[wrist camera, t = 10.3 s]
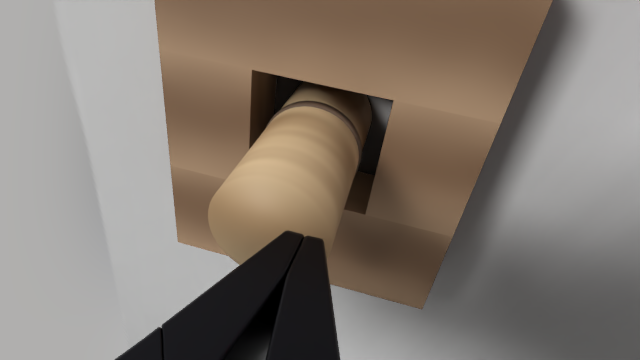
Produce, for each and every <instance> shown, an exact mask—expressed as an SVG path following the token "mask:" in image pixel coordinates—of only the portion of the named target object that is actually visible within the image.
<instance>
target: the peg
mask: <svg viewBox="0 0 640 360" xmlns="http://www.w3.org/2000/svg"><path fill="white" fill-rule="evenodd" d="M371 120H372V112H371V106H370V103H369V101H368V98H367V96H366V95H365V94H362V93H357V92H352V91H348V90H343V89H339V88H334V87H329V86H325V85H320V84H316V83H311V82H306V81H304V82H302V83H301V84H300V85H299V86H298V88H297V89H296V90H295V91H294V93H293V94H292V95H291V97H290V98H289V99H288V100H287V102H286V103H285V104H284V106H283V107H282V108H281V109H280V110H279V111H278V112H277V113H276V114H275V115H274V116H273V118H272V119H271V120H270V122H269V123H268V124H267V126H266V129H265V130H264V131H263V133H262V134H261V135H260V137H259V138H258V139H257V140H256V142H255V143H254V144H253V146H252V147H251V148H250V149H249V151H248V152H247V153H246V155H245V156H244V157H243V158H242V160H241V161H240V162H239V164H238V165H237V166H236V167H235V169H234V170H233V171H232V173H231V174H230V175H229V176H228V178H227V179H226V180H225V182H224V183H223V184H222V185H221V187H220V188H219V189H218V191H217V192H216V193H215V195H214V196H213V198H212V200H211V202H210V205H209V209H208V221H209V226H210V229H211V232H212V234H213V236H214V238H215V240H216V242H217V243H218V245H219V246H220V247H221V249H222V250H223V251H224V252H225V253H226V254H227V255H228V256H229V257H230V258H231V259H233V260H234V261H235V262H236V263H238V264H239V265H241V264H242V263H244V262H245V261H246V260H247V259H249V258H250V257H251V256H253V255H254V254H255V253H257V252H258V251H259V250H261V249H262V248H263V247H264V246H266V245H267V244H268V243H270V242H271V241H272V240H274V239H275V238H276V237H278V236H279V235H280V234H281V233H283V232H284V231H286V230H290V231H294V232H298V233H301V234H303V235H304V237H305V236H306V235H310V236H314V237H317V238H321V239H323V241H324V245H325V252H326V259H328V257H329V255H330V251H331V248H332V245H333V242H334V239H335V236H336V233H337V229H338V226H339V223H340V220H341V217H342V214H343V210H344V207H345V204H346V201H347V198H348V195H349V191H350V188H351V185H352V182H353V179H354V176H355V174H356V172H357V170H358V168H359V164H360V161H361V157H362V150H363V147H364V144H365V141H366V138H367V135H368V131H369V128H370V125H371Z"/></svg>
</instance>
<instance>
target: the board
mask: <svg viewBox="0 0 640 360" xmlns="http://www.w3.org/2000/svg"><path fill="white" fill-rule="evenodd" d="M552 1H553V0H155V10H156V20H157V31H158V41H159V51H160V62H161V72H162V82H163V93H164V103H165V113H166V124H167V134H168V144H169V155H170V165H171V175H172V186H173V196H174V206H175V217H176V227H177V237H178V242H180V243H184V244H187V245H191V246H194V247H198V248H202V249H205V250H209V251H213V252H216V253H220V254H223V255H227V254H226V253H225V252H224V251H223V250H222V249H221V247H220V246H219V245H218V243H217V242H216V240H215V238H214V236H213V234H212V232H211V229H210V226H209V221H208V209H209V205H210V202H211V200H212V198H213V196H214V195H215V193H216V192H217V191H218V189H219V188H220V187H221V185H222V184H223V183H224V182H225V180H226V179H227V178H228V176H229V175H230V174H231V173H232V171H233V170H234V169H235V167H236V166H237V165H238V164H239V162H240V161H241V160H242V158H243V157H244V156H245V155H246V153H247V152H248V151H249V149H250V148H251V147H252V146H253V144H254V143H255V142H256V140H257V139H258V138H259V137H260V135H261V134H262V133H263V131H264V130H265V129H266V126H267V124H268V123H269V122H270V120H271V119H272V118H273V116H274V109H275V95H276V81H277V75H279V76H283V77H288V78H292V79H297V80H302V81H306V82H311V83H316V84H320V85H325V86H329V87H334V88H339V89H343V90H348V91H352V92H357V93H362V94H366V95H371V96H376V97H380V98H385V99H389V100H393V104H392V108H391V112H390V116H389V120H388V124H387V128H386V132H385V136H384V140H383V144H382V149H381V153H380V157H379V161H378V165H377V169H376V173H375V175H372V174H367V173H363V172H359V171H357V172H356V174H355V176H354V179H353V182H352V185H351V188H350V191H349V195H348V198H347V201H346V204H345V207H344V210H343V214H342V217H341V220H340V223H339V226H338V229H337V233H336V236H335V239H334V242H333V245H332V248H331V251H330V255H329V257H328V259H327V267H328V274H329V281H330V284H332V285H336V286H339V287H343V288H346V289H350V290H354V291H357V292H361V293H365V294H368V295H372V296H375V297H379V298H383V299H386V300H390V301H393V302H397V303H401V304H404V305H408V306H412V307H415V308H419V309H422V308H423V306H424V304H425V301H426V299H427V297H428V294H429V292H430V289H431V287H432V285H433V282H434V280H435V278H436V275H437V273H438V271H439V268H440V266H441V263H442V261H443V259H444V256H445V254H446V252H447V249H448V247H449V245H450V242H451V240H452V237H453V235H454V233H455V230H456V228H457V226H458V223H459V221H460V219H461V216H462V214H463V211H464V209H465V207H466V204H467V202H468V200H469V197H470V195H471V193H472V190H473V188H474V185H475V183H476V181H477V178H478V176H479V174H480V171H481V169H482V167H483V164H484V162H485V159H486V157H487V155H488V152H489V150H490V148H491V145H492V143H493V141H494V138H495V136H496V133H497V131H498V129H499V126H500V124H501V122H502V119H503V117H504V115H505V112H506V110H507V107H508V105H509V103H510V100H511V98H512V96H513V93H514V91H515V89H516V86H517V84H518V81H519V79H520V77H521V74H522V72H523V70H524V67H525V65H526V62H527V60H528V58H529V55H530V53H531V51H532V48H533V46H534V44H535V41H536V39H537V36H538V34H539V32H540V29H541V27H542V25H543V22H544V20H545V18H546V15H547V13H548V10H549V8H550V6H551V3H552ZM227 256H228V255H227Z"/></svg>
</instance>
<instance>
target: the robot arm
mask: <svg viewBox="0 0 640 360" xmlns="http://www.w3.org/2000/svg"><path fill="white" fill-rule="evenodd" d="M115 360H340V354H339V347H338V340H337V332H336V325H335V318H334V311H333V303H332V296H331V289H330V281H329V274H328V267H327V259H326V252H325V245H324V241H323V239H321V238H317V237H314V236H310V235H306V236H305V237H304V235H303V234H301V233H298V232H294V231H290V230H286V231H284V232H283V233H281V234H280V235H279V236H278V237H276V238H275V239H274V240H272V241H271V242H270V243H268V244H267V245H266V246H264V247H263V248H262V249H261V250H259V251H258V252H257V253H255V254H254V255H253V256H251V257H250V258H249V259H247V260H246V261H245V262H244V263H242V264H241V265H240V266H238V267H237V268H236V269H234V270H233V271H232V272H230V273H229V274H228V275H226V276H225V277H224V278H223V279H221V280H220V281H219V282H217V283H216V284H215V285H213V286H212V287H211V288H209V289H208V290H207V291H206V292H204V293H203V294H202V295H200V296H199V297H198V298H196V299H195V300H194V301H192V302H191V303H190V304H189V305H187V306H186V307H185V308H183V309H182V310H181V311H179V312H178V313H177V314H175V315H174V316H173V317H172V318H170V319H169V320H168V321H166V322H165V323H164V324H162V328H160V327H158V328H157V329H155V330H154V331H153V332H152V333H150V334H149V335H148V336H146V337H145V338H144V339H142V340H141V341H140V342H138V343H137V344H136V345H134V346H133V347H131V348H130V349H129V350H127V351H126V352H125V353H123V354H122V355H120V356H119V357H118V358H116V359H115Z"/></svg>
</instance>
